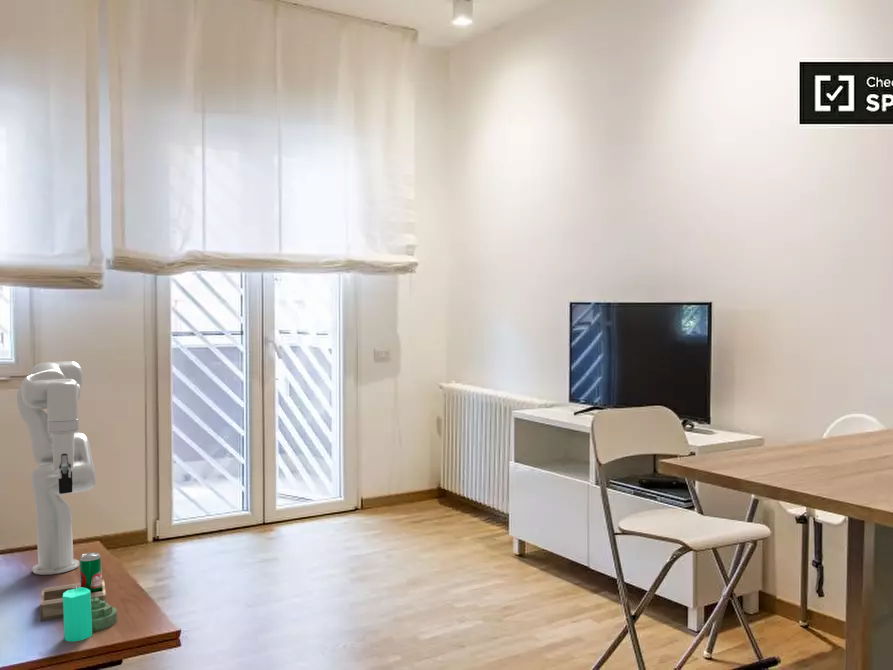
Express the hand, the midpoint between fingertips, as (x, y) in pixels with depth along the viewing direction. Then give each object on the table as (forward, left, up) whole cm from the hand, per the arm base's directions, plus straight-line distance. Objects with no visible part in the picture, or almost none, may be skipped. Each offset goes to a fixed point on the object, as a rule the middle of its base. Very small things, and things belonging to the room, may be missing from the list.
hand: (66, 489), depth 220 cm
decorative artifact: (+28, +6, -29) cm, 40 cm away
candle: (+35, +2, -28) cm, 45 cm away
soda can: (+13, +5, -28) cm, 31 cm away
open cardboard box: (+13, +1, -28) cm, 31 cm away
